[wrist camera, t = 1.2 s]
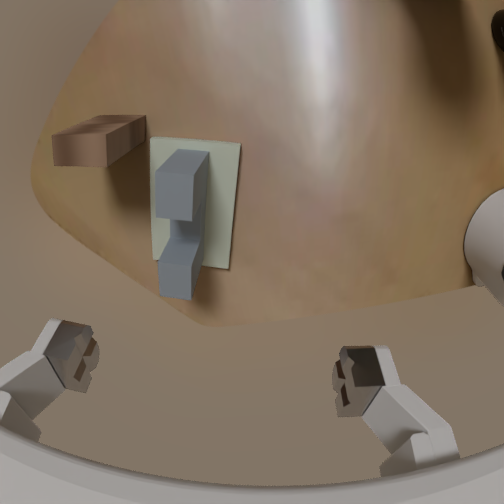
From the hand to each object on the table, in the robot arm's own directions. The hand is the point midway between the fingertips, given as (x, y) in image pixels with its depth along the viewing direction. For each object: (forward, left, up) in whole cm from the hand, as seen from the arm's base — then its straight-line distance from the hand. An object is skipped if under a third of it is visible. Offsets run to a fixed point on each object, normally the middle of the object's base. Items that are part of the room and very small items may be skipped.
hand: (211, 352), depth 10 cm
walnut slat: (+15, 0, -29) cm, 32 cm away
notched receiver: (+6, +9, -29) cm, 30 cm away
